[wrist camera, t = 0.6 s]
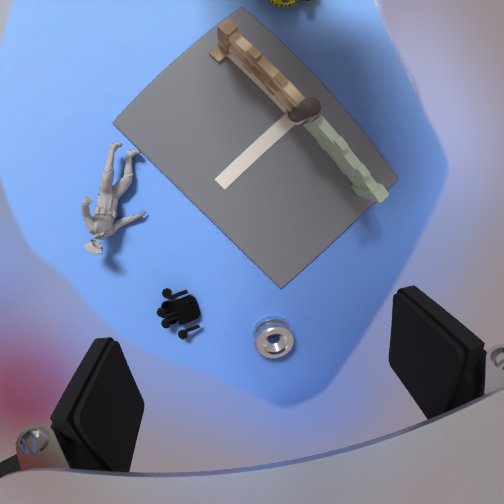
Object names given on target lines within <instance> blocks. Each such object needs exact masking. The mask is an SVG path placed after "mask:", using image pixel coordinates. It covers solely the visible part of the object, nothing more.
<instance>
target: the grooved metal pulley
mask: <svg viewBox="0 0 504 504" xmlns="http://www.w3.org/2000/svg"><path fill="white" fill-rule="evenodd" d="M272 334H277V336H275V337H272V338H271V337H268V336H270V335H272ZM253 337H254V344H255V348H256V350H257V351H258V353H259V354H261V355H262V356H264V357H266V358H271V359H275V358H280V357H283V356H284V355H286V354H287V353H289V352H290V350H291V349H292V347H293V345H294V335H293V332H292V329H291V326H290V324H289V323H288V321H287V320H285V319H284V318H282V317H279V316H268V317H265V318H263V319H261V320H260V321H259V322H258V323H257V324H256V325H255V327H254V330H253Z"/></svg>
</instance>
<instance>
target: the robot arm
mask: <svg viewBox="0 0 504 504" xmlns="http://www.w3.org/2000/svg"><path fill="white" fill-rule="evenodd" d="M484 344H485V343H484V342H483V341H482V340H481V339H479V338H478V337H477V336H476V335H475V334H474V333H472V332H471V331H470V330H469V329H468V328H466V327H465V326H464V325H463V324H462V323H461V322H459V321H458V320H457V319H456V318H454V317H453V316H452V315H451V314H450V313H448V312H447V311H446V310H445V309H443V308H442V307H441V306H440V305H438V304H437V303H436V302H435V301H433V300H432V299H431V298H429V297H428V296H427V295H426V294H425V293H423V292H422V291H421V290H419V289H418V288H417V287H416V286H409V287H405V288H401V289H399V290H398V291H397V294H395V295H394V297H393V310H392V327H391V339H390V349H389V363H390V366H391V368H392V369H393V370H394V372H395V373H396V374H397V376H398V377H399V379H400V380H401V382H402V383H403V384H404V386H405V387H406V389H407V390H408V391H409V393H410V394H411V396H412V397H413V399H414V400H415V402H416V403H417V404H418V406H419V407H420V409H421V410H422V412H423V413H424V415H425V416H426V417H427V419H428V420H426V421H423V422H421V423H418V424H416V425H413V426H411V427H408V428H405V429H402V430H400V431H397V432H394V433H391V434H388V435H385V436H382V437H379V438H376V439H373V440H370V441H366V442H363V443H360V444H356V445H353V446H350V447H346V448H342V449H338V450H334V451H330V452H326V453H322V454H318V455H313V456H309V457H304V458H299V459H294V460H289V461H283V462H278V463H272V464H266V465H259V466H252V467H244V468H235V469H225V470H215V471H202V472H179V473H137V472H136V473H135V472H129V471H130V466H131V461H132V457H133V453H134V449H135V444H136V440H137V436H138V432H139V428H140V423H141V419H142V416H143V412H144V401H143V398H142V396H141V394H140V392H139V389H138V387H137V385H136V383H135V380H134V378H133V376H132V374H131V371H130V369H129V366H128V364H127V362H126V359H125V357H124V354H123V352H122V349H121V347H120V344H119V343H118V342H117V341H114V340H113V338H111V337H108V338H98V339H95V340H94V342H93V343H92V345H91V347H90V348H89V350H88V352H87V353H86V355H85V357H84V358H83V360H82V362H81V363H80V365H79V367H78V368H77V370H76V372H75V374H74V375H73V377H72V379H71V381H70V382H69V384H68V386H67V388H66V389H65V391H64V393H63V395H62V397H61V399H60V400H59V402H58V404H57V406H56V408H55V410H54V411H53V413H52V415H51V417H50V419H51V421H52V422H53V423H52V425H51V427H49V426H47V425H43V424H38V425H33V426H31V427H28V428H27V429H25V430H24V431H23V432H22V433H21V434H20V435H19V437H18V438H17V440H16V444H15V446H16V453H17V454H16V455H14V456H12V457H10V458H8V459H6V460H4V461H2V462H1V463H0V504H504V344H502V345H496V346H493V347H492V348H490V349H489V350H488V352H486V351H485V350H484V349H483V348H484Z"/></svg>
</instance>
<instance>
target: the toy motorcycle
mask: <svg viewBox="0 0 504 504" xmlns="http://www.w3.org/2000/svg"><path fill="white" fill-rule="evenodd" d="M268 1H270V3H273V4H274V6H275V5H277V6H278V7H279V6H282V8H283V7H285V6H286V8H287V7H288V6H290V7H291V6H292V4H293V5H294V4H295V3H296V2H297V1H298V0H289V2H287V3H284V2H282V0H268ZM306 1H309V2H311V1H312V0H306Z"/></svg>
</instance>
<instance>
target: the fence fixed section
mask: <svg viewBox="0 0 504 504" xmlns="http://www.w3.org/2000/svg"><path fill="white" fill-rule="evenodd" d="M238 27H239V26H237V25H236V24H235V23H234V22H233V21H232V20H230V19H229V18H227V19H226V20H225V21H223V22H222V23H221V24H219V25H218V26H217V35H218V45H217V46H216V47H215V48H214V49H212V50H211V51H210V52H209V54H210V55H211V56H212V57H213V58H214V59H215V60H216V61H218V62H220V61H221V60H222V59H224V58H225V57H226V56H227V55H228V54H229V53H231V54H232V55H233V56H235V57H236V58H237V59H238V60H239V61H240V62H241V63H242V64H243V67H244V68H246V69H247V70H248V71H249V72H250V73H253V74H254V75H255V76H256V77H257V78H258V79H259V80H260V81H261V82H262V83H263V84H264V85H265V86H266V89H267V90H268V91H269V92H270V93H271V94H272V95H273V96H274V95H275V96H276V97H277V98H278V99H279V101H280V102H281V103H282V104H283V105H284V106H285V107H286V108H287V109H288V110H289V111H288V117H289V119H290V120H291V121H292V122H300V121H302V120H305V119H307V118H310V117H312V116H315V115H317V114H318V113H319V112H320V110H321V104H320V102H319V101H318V100H317V99H316V98H314V97H308V98H305V97H304V96H303V95H302V94H301V93H300V92H299V91H298V90H297V89H296V88H295V87H294V86H293V84H292V83H291V82H290V81H289V80H288V79H287V78H286V77H285V76H284V75H283V74H282V73H281V72H280V71H279V70H278V69H277V68H276V67H275V66H274V65H273V64H272V63H271V62H270V61H269V60H268V59H266V58H265V57H264V56H263V55H262V54H261V53H260V52H259V51H258V50H257V49H256V48H255V47H254V46H253V45H252V44H250V43H249V42H248V41H247V40H246V39H245V38H244V37H243V36H242V35H241V34H239V33H238Z"/></svg>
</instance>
